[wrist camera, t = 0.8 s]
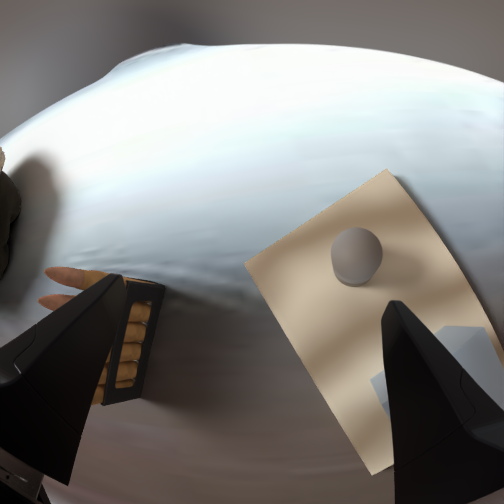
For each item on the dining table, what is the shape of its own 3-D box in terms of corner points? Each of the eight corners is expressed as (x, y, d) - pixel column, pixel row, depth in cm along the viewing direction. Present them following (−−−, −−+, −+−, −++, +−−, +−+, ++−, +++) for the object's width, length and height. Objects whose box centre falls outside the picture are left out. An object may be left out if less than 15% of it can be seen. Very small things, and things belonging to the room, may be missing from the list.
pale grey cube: (479, 394, 15) (521, 416, 9) (407, 446, 16) (427, 488, 10) (444, 325, 18) (483, 326, 11) (369, 379, 18) (381, 404, 12)
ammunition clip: (149, 280, 26) (40, 251, 15) (166, 286, 25) (56, 258, 14) (124, 389, 25) (19, 409, 13) (140, 398, 24) (34, 424, 13)
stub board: (506, 371, 16) (540, 381, 11) (370, 468, 17) (375, 502, 13) (385, 175, 22) (393, 140, 17) (248, 266, 24) (223, 251, 19)
